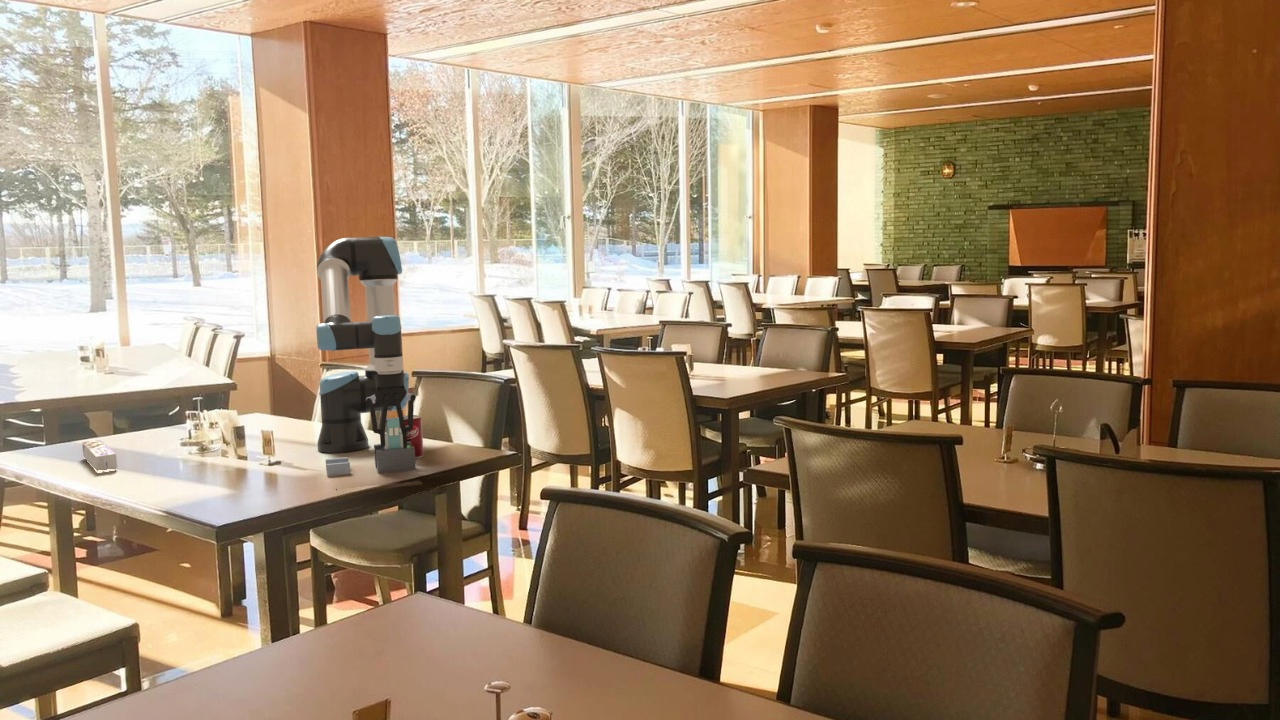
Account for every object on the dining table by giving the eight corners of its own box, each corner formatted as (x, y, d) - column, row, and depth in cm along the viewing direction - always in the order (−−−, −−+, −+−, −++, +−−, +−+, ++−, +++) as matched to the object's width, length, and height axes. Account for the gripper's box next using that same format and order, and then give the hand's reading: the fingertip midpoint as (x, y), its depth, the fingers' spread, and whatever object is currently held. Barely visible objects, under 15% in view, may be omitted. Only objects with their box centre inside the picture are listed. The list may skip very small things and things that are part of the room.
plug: (388, 461, 275) (385, 418, 274) (400, 460, 277) (397, 417, 275) (389, 464, 271) (387, 421, 270) (401, 463, 272) (399, 420, 271)
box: (118, 471, 287) (116, 452, 286) (97, 474, 284) (95, 455, 283) (102, 457, 309) (100, 439, 308) (83, 460, 306) (81, 441, 305)
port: (375, 469, 278) (373, 442, 277) (412, 465, 281) (410, 439, 280) (378, 476, 268) (376, 449, 267) (416, 473, 271) (414, 445, 270)
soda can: (417, 460, 288) (414, 419, 287) (394, 459, 290) (391, 419, 288) (427, 454, 295) (425, 414, 294) (404, 454, 297) (402, 414, 295)
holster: (326, 473, 274) (325, 459, 274) (349, 471, 276) (348, 457, 276) (327, 479, 267) (326, 465, 266) (350, 477, 269) (349, 462, 268)
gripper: (359, 375, 265) (364, 462, 268) (421, 371, 270) (426, 456, 273) (357, 372, 272) (363, 457, 275) (418, 368, 277) (423, 451, 280)
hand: (394, 456), depth 274 cm, fingers closed on plug, 3 cm apart
